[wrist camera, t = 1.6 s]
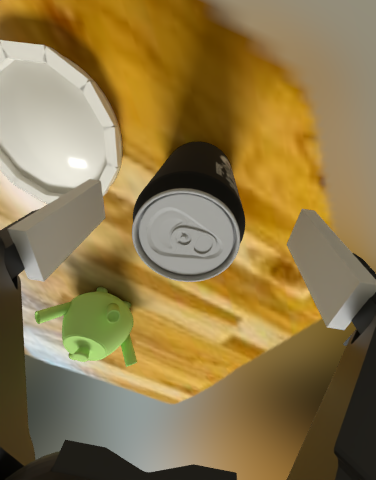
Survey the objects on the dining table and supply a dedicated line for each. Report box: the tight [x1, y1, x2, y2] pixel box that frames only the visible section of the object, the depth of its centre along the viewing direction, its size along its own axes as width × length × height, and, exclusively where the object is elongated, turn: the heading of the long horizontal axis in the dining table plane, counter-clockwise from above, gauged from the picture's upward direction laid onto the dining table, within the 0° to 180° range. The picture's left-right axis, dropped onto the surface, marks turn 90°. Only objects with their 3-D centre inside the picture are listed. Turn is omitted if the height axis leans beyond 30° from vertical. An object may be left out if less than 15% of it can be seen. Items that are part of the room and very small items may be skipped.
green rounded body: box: [35, 287, 137, 367], centre depth 30 cm, size 11×12×8 cm
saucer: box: [0, 40, 123, 204], centre depth 20 cm, size 13×13×2 cm
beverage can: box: [132, 142, 245, 282], centre depth 16 cm, size 7×7×12 cm
